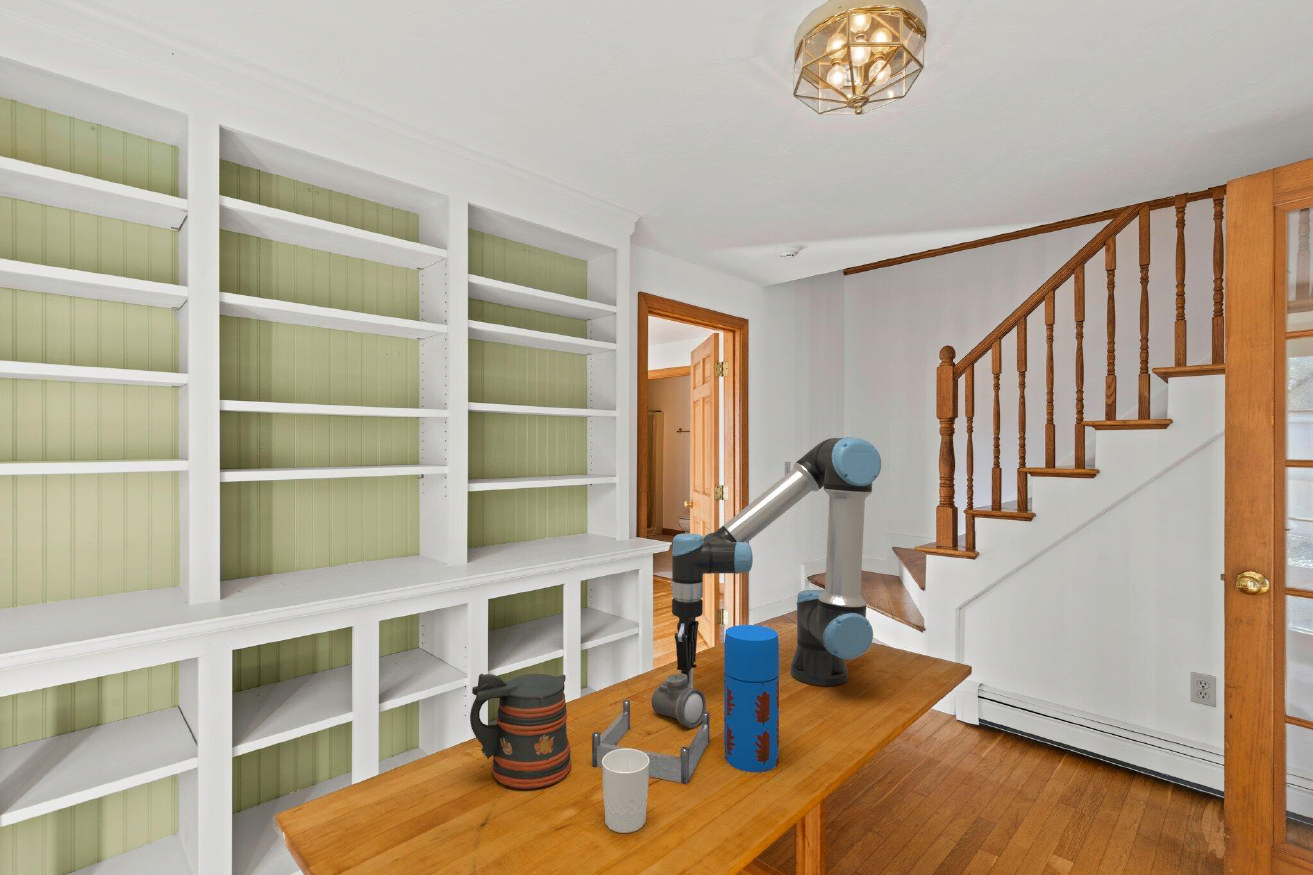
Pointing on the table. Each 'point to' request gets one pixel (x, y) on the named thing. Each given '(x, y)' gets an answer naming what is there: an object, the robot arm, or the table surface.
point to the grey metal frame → (658, 763)
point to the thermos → (751, 697)
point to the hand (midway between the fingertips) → (686, 695)
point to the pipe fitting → (679, 701)
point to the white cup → (625, 789)
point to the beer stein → (524, 729)
